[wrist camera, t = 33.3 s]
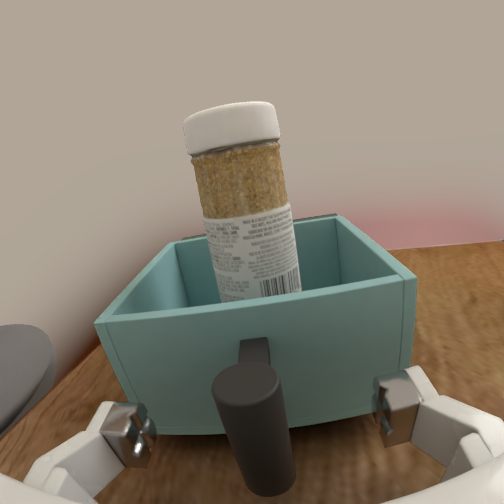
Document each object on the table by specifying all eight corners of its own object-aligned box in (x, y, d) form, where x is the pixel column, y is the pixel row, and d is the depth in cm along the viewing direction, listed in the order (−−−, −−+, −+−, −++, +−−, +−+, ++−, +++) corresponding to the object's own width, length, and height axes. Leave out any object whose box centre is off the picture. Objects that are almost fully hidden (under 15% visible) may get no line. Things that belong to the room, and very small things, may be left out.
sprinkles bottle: (289, 322, 21) (256, 112, 17) (323, 355, 17) (290, 95, 13) (224, 343, 20) (177, 124, 16) (245, 384, 15) (187, 106, 12)
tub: (122, 502, 9) (35, 389, 7) (189, 321, 25) (168, 242, 23) (437, 473, 8) (484, 337, 6) (347, 298, 24) (341, 214, 22)
